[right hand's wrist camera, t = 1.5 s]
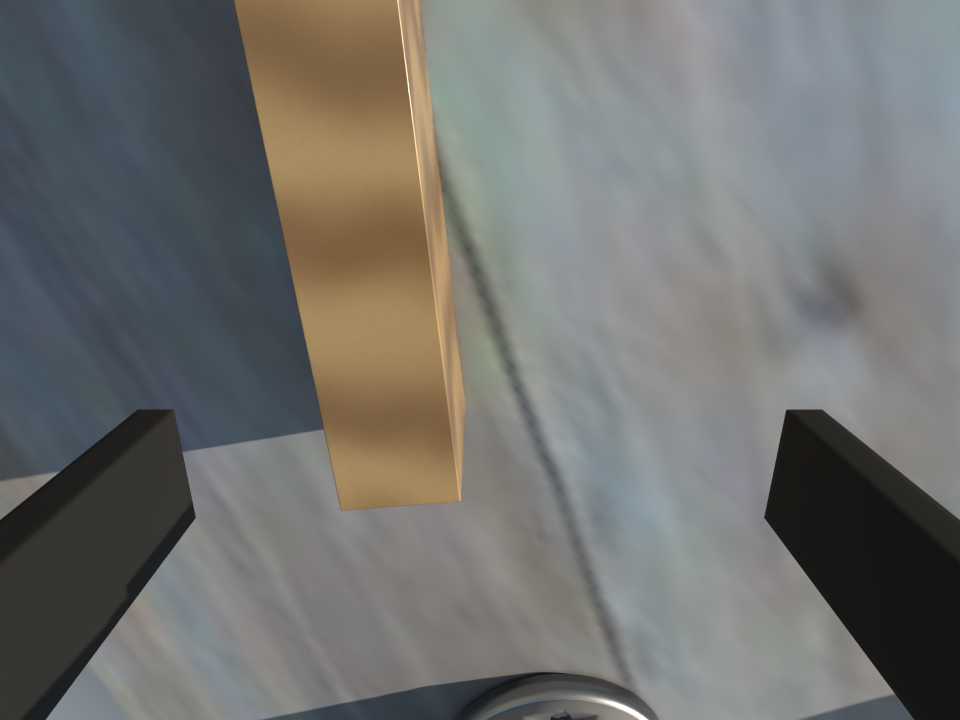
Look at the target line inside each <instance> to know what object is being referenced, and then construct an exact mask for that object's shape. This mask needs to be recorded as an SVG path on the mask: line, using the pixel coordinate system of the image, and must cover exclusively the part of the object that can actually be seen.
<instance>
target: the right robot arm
mask: <svg viewBox="0 0 960 720" xmlns="http://www.w3.org/2000/svg"><path fill="white" fill-rule="evenodd" d="M195 518H196V517H195V512H194V507H193V502H192V497H191V492H190V487H189V483H188V478H187V473H186V468H185V463H184V458H183V453H182V448H181V443H180V438H179V434H178V429H177V424H176V419H175V414H174V410H137V411H136V412H134V413H133V414H132V415H131V416H129V417H128V418H127V419H126V420H124V421H123V422H122V423H121V424H119V425H118V426H117V427H116V428H114V429H113V430H112V431H111V432H109V433H108V434H107V435H106V436H104V437H103V438H102V439H101V440H99V441H98V442H97V443H96V444H94V445H93V446H92V447H91V448H89V449H88V450H87V451H86V452H84V453H83V454H82V455H81V456H79V457H78V458H77V459H76V460H74V461H73V462H72V463H71V464H69V465H68V466H67V467H66V468H64V469H63V470H62V471H61V472H60V473H58V474H57V475H56V476H55V477H53V478H52V479H51V480H50V481H48V482H47V483H46V484H45V485H43V486H42V487H41V488H40V489H38V490H37V491H36V492H35V493H33V494H32V495H31V496H30V497H28V498H27V499H26V500H25V501H23V502H22V503H21V504H20V505H18V506H17V507H16V508H15V509H13V510H12V511H11V512H10V513H8V514H7V515H6V516H5V517H3V518H2V519H1V520H0V720H46V718H47V717H48V716H49V714H50V713H51V712H52V710H53V709H54V708H55V706H56V705H57V704H58V702H59V701H60V700H61V698H62V697H63V696H64V694H65V693H66V691H67V690H68V689H69V687H70V686H71V685H72V683H73V682H74V681H75V679H76V678H77V677H78V675H79V674H80V673H81V671H82V670H83V669H84V667H85V666H86V665H87V663H88V662H89V661H90V659H91V658H92V657H93V655H94V654H95V652H96V651H97V650H98V648H99V647H100V646H101V644H102V643H103V642H104V640H105V639H106V638H107V636H108V635H109V634H110V632H111V631H112V630H113V628H114V627H115V626H116V624H117V623H118V622H119V620H120V619H121V617H122V616H123V615H124V613H125V612H126V611H127V609H128V608H129V607H130V605H131V604H132V603H133V601H134V600H135V599H136V597H137V596H138V595H139V593H140V592H141V591H142V589H143V588H144V587H145V585H146V584H147V583H148V581H149V580H150V578H151V577H152V576H153V574H154V573H155V572H156V570H157V569H158V568H159V566H160V565H161V564H162V562H163V561H164V560H165V558H166V557H167V556H168V554H169V553H170V552H171V550H172V549H173V548H174V546H175V545H176V544H177V542H178V541H179V539H180V538H181V537H182V535H183V534H184V533H185V531H186V530H187V529H188V527H189V526H190V525H191V523H192V522H193V521H194V519H195ZM764 518H765V519H766V521H767V522H768V523H769V525H770V526H771V527H772V529H773V530H774V531H775V533H776V534H777V535H778V537H779V538H780V539H781V541H782V542H783V544H784V545H785V546H786V548H787V549H788V550H789V552H790V553H791V554H792V556H793V557H794V558H795V560H796V561H797V562H798V564H799V565H800V566H801V568H802V569H803V570H804V572H805V573H806V574H807V576H808V577H809V578H810V580H811V581H812V583H813V584H814V585H815V587H816V588H817V589H818V591H819V592H820V593H821V595H822V596H823V597H824V599H825V600H826V601H827V603H828V604H829V605H830V607H831V608H832V609H833V611H834V612H835V613H836V615H837V616H838V617H839V619H840V620H841V622H842V623H843V624H844V626H845V627H846V628H847V630H848V631H849V632H850V634H851V635H852V636H853V638H854V639H855V640H856V642H857V643H858V644H859V646H860V647H861V648H862V650H863V651H864V652H865V654H866V655H867V657H868V658H869V659H870V661H871V662H872V663H873V665H874V666H875V667H876V669H877V670H878V671H879V673H880V674H881V675H882V677H883V678H884V679H885V681H886V682H887V683H888V685H889V686H890V687H891V689H892V690H893V691H894V693H895V694H896V696H897V697H898V698H899V700H900V701H901V702H902V704H903V705H904V706H905V708H906V709H907V710H908V712H909V713H910V714H911V716H912V717H913V718H914V720H960V520H959V519H958V518H957V517H955V516H954V515H953V514H952V513H950V512H949V511H948V510H947V509H945V508H944V507H943V506H942V505H940V504H939V503H938V502H937V501H935V500H934V499H933V498H932V497H930V496H929V495H928V494H927V493H925V492H924V491H923V490H922V489H920V488H919V487H918V486H917V485H915V484H914V483H913V482H912V481H910V480H909V479H908V478H907V477H905V476H904V475H903V474H902V473H900V472H899V471H898V470H897V469H896V468H894V467H893V466H892V465H891V464H889V463H888V462H887V461H886V460H884V459H883V458H882V457H881V456H879V455H878V454H877V453H876V452H874V451H873V450H872V449H871V448H869V447H868V446H867V445H866V444H864V443H863V442H862V441H861V440H859V439H858V438H857V437H856V436H854V435H853V434H852V433H851V432H849V431H848V430H847V429H846V428H844V427H843V426H842V425H841V424H839V423H838V422H837V421H836V420H834V419H833V418H832V417H831V416H829V415H828V414H827V413H826V412H824V411H823V410H786V414H785V419H784V424H783V429H782V434H781V438H780V443H779V448H778V453H777V458H776V463H775V468H774V473H773V478H772V483H771V487H770V492H769V497H768V502H767V507H766V512H765V517H764ZM457 720H659V719H658V718H657V716H656V715H655V713H654V712H653V711H652V709H651V708H650V707H649V706H648V705H647V704H646V703H645V702H644V701H642V700H641V699H640V698H639V697H637V696H636V695H634V694H633V693H631V692H630V691H628V690H626V689H624V688H622V687H620V686H618V685H616V684H613V683H611V682H608V681H605V680H602V679H598V678H594V677H589V676H583V675H573V674H547V675H539V676H532V677H527V678H523V679H519V680H516V681H512V682H509V683H507V684H504V685H501V686H499V687H497V688H495V689H493V690H491V691H489V692H487V693H486V694H484V695H482V696H481V697H479V698H478V699H477V700H475V701H474V702H473V703H472V704H470V705H469V706H468V707H467V708H466V709H465V710H464V711H463V712H462V713H461V714H460V716H459V717H458V719H457Z"/></svg>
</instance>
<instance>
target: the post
mask: <svg viewBox="0 0 960 720" xmlns="http://www.w3.org/2000/svg"><path fill="white" fill-rule="evenodd" d="M233 1H234V6H235V10H236V15H237V20H238V25H239V29H240V34H241V39H242V44H243V48H244V53H245V58H246V63H247V67H248V72H249V77H250V82H251V86H252V91H253V96H254V101H255V105H256V110H257V115H258V119H259V124H260V129H261V134H262V138H263V143H264V148H265V153H266V157H267V162H268V167H269V172H270V176H271V181H272V186H273V191H274V195H275V200H276V205H277V209H278V214H279V219H280V224H281V228H282V233H283V238H284V243H285V247H286V252H287V257H288V262H289V266H290V271H291V276H292V281H293V285H294V290H295V295H296V299H297V304H298V309H299V314H300V318H301V323H302V328H303V333H304V337H305V342H306V347H307V352H308V356H309V361H310V366H311V371H312V375H313V380H314V385H315V389H316V394H317V399H318V404H319V408H320V413H321V418H322V423H323V427H324V432H325V437H326V442H327V446H328V451H329V456H330V461H331V465H332V470H333V475H334V479H335V484H336V489H337V494H338V498H339V503H340V508H341V511H344V510H356V509H369V508H382V507H395V506H407V505H420V504H433V503H445V502H458V501H460V500H461V482H462V464H463V446H464V427H465V409H466V406H465V397H464V388H463V379H462V370H461V361H460V352H459V344H458V335H457V326H456V317H455V308H454V299H453V290H452V282H451V273H450V264H449V255H448V246H447V237H446V228H445V220H444V211H443V202H442V193H441V184H440V175H439V166H438V158H437V149H436V140H435V131H434V122H433V113H432V104H431V96H430V87H429V78H428V69H427V60H426V51H425V42H424V33H423V25H422V16H421V7H420V0H233Z"/></svg>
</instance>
